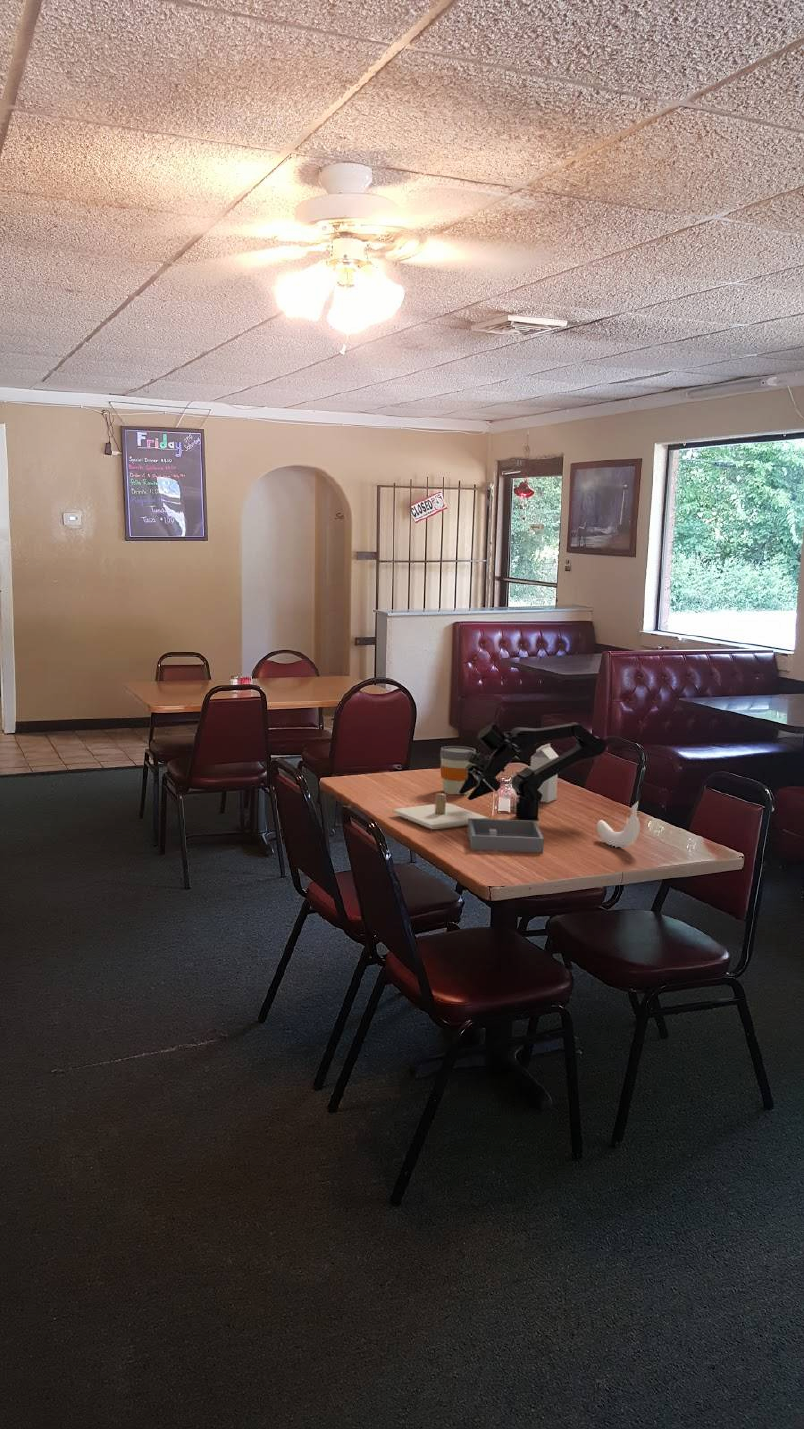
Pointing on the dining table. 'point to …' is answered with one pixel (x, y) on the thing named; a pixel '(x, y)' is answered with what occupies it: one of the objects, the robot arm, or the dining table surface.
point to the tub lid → (438, 814)
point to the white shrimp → (624, 836)
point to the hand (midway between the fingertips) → (464, 796)
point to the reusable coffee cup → (454, 767)
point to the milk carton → (550, 785)
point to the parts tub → (505, 835)
